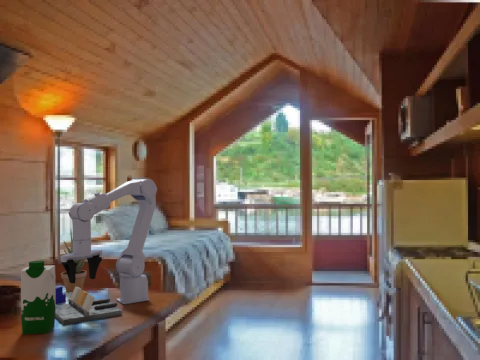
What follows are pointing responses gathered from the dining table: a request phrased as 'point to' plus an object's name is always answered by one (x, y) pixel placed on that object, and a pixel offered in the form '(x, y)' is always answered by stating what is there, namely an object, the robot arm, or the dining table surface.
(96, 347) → the dining table surface
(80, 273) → the potted plant
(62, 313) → the panel
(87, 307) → the ivory paddle
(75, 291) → the ivory paddle
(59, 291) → the cable clip
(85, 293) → the orange paddle
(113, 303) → the cords
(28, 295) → the milk carton
